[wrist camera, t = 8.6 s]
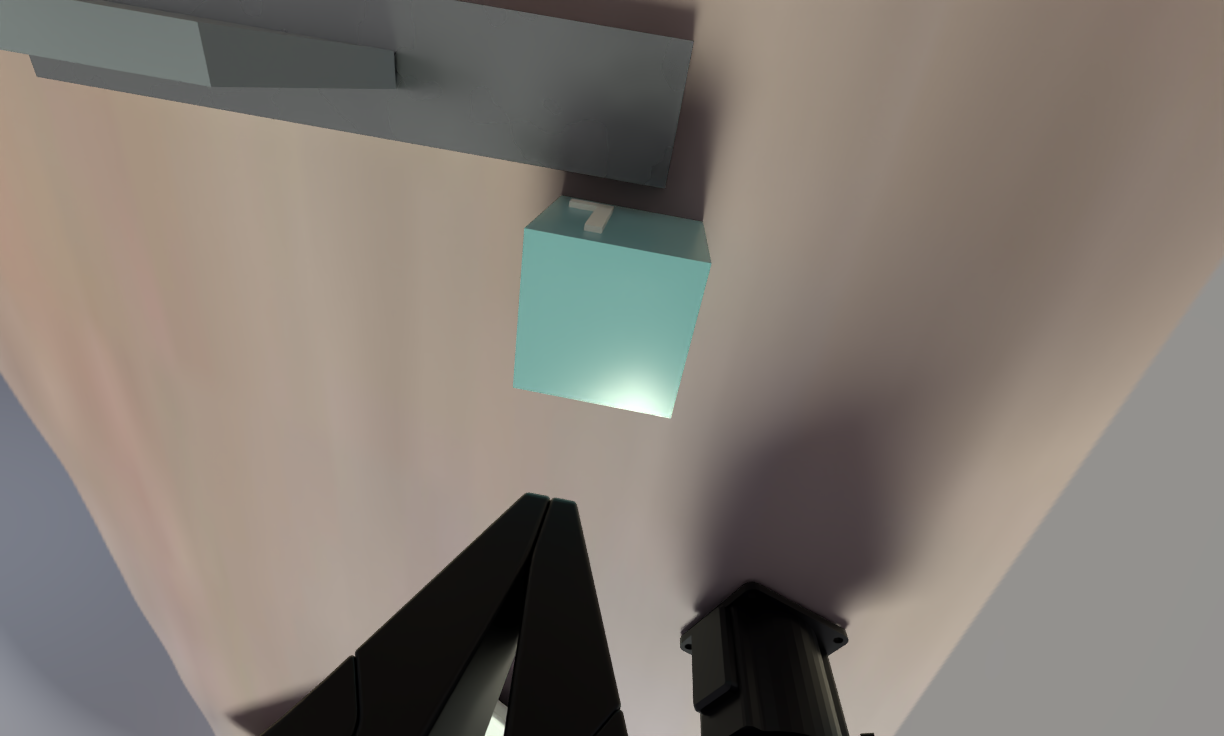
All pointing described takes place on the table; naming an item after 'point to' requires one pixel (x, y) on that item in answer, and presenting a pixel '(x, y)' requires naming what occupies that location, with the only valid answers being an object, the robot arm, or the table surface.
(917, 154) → the table surface
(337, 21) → the rail
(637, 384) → the cube
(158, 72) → the screen
